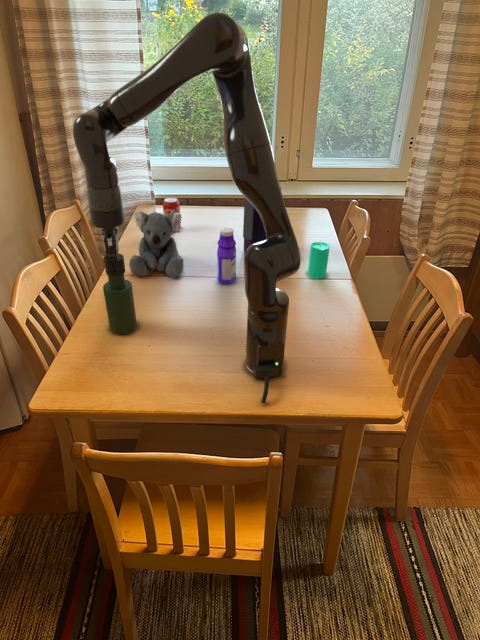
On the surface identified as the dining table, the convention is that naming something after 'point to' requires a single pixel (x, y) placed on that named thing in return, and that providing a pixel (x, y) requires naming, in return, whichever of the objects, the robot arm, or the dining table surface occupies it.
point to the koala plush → (157, 245)
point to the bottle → (226, 256)
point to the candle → (318, 260)
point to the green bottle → (120, 305)
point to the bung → (120, 263)
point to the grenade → (252, 226)
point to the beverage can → (171, 207)
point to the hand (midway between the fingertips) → (114, 266)
